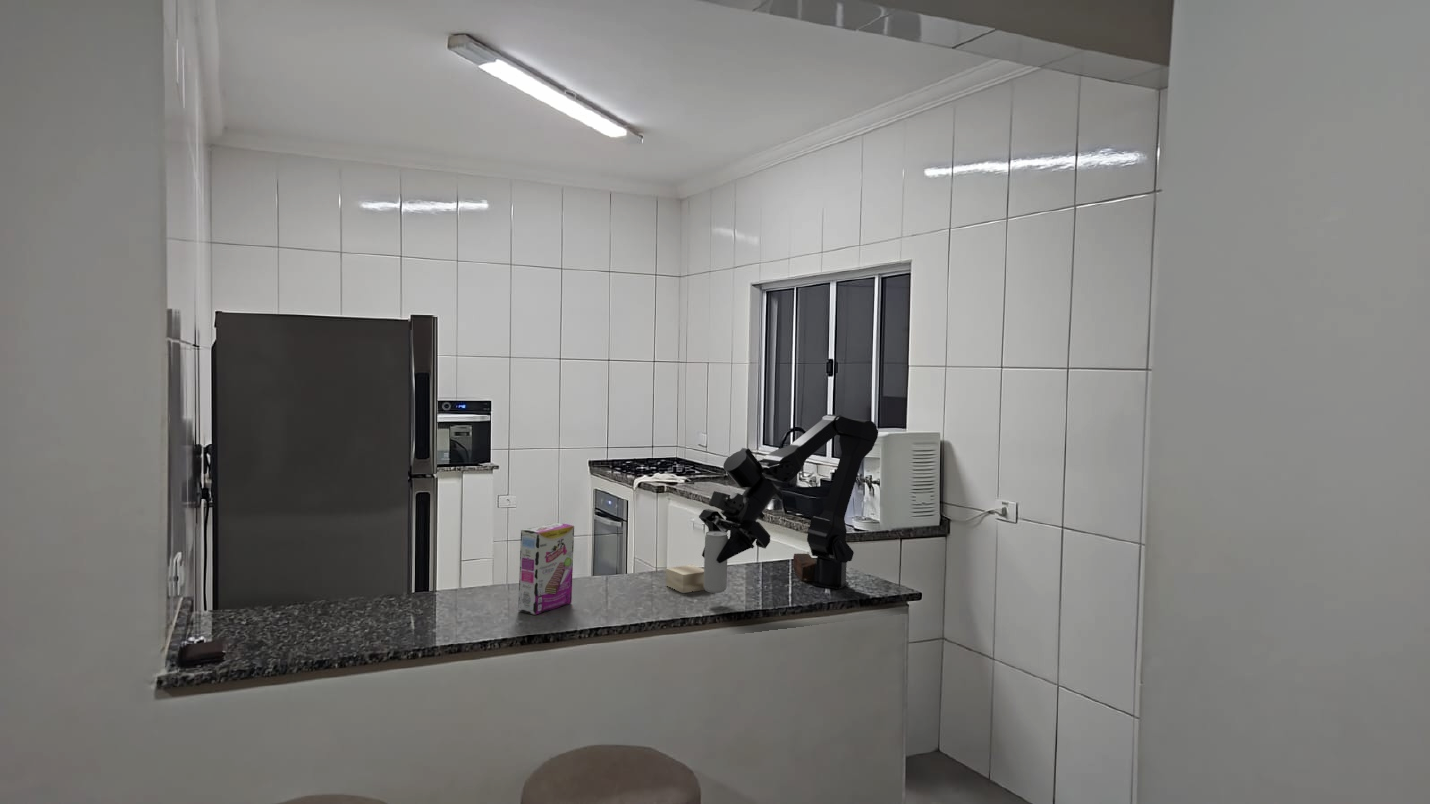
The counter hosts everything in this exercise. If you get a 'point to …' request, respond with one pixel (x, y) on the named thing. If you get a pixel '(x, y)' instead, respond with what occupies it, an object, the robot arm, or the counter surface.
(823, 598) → the counter surface
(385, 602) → the counter surface
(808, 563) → the brick
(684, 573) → the maple block
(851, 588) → the counter surface
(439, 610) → the counter surface
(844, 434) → the robot arm
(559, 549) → the candy bar box
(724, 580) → the beverage can
